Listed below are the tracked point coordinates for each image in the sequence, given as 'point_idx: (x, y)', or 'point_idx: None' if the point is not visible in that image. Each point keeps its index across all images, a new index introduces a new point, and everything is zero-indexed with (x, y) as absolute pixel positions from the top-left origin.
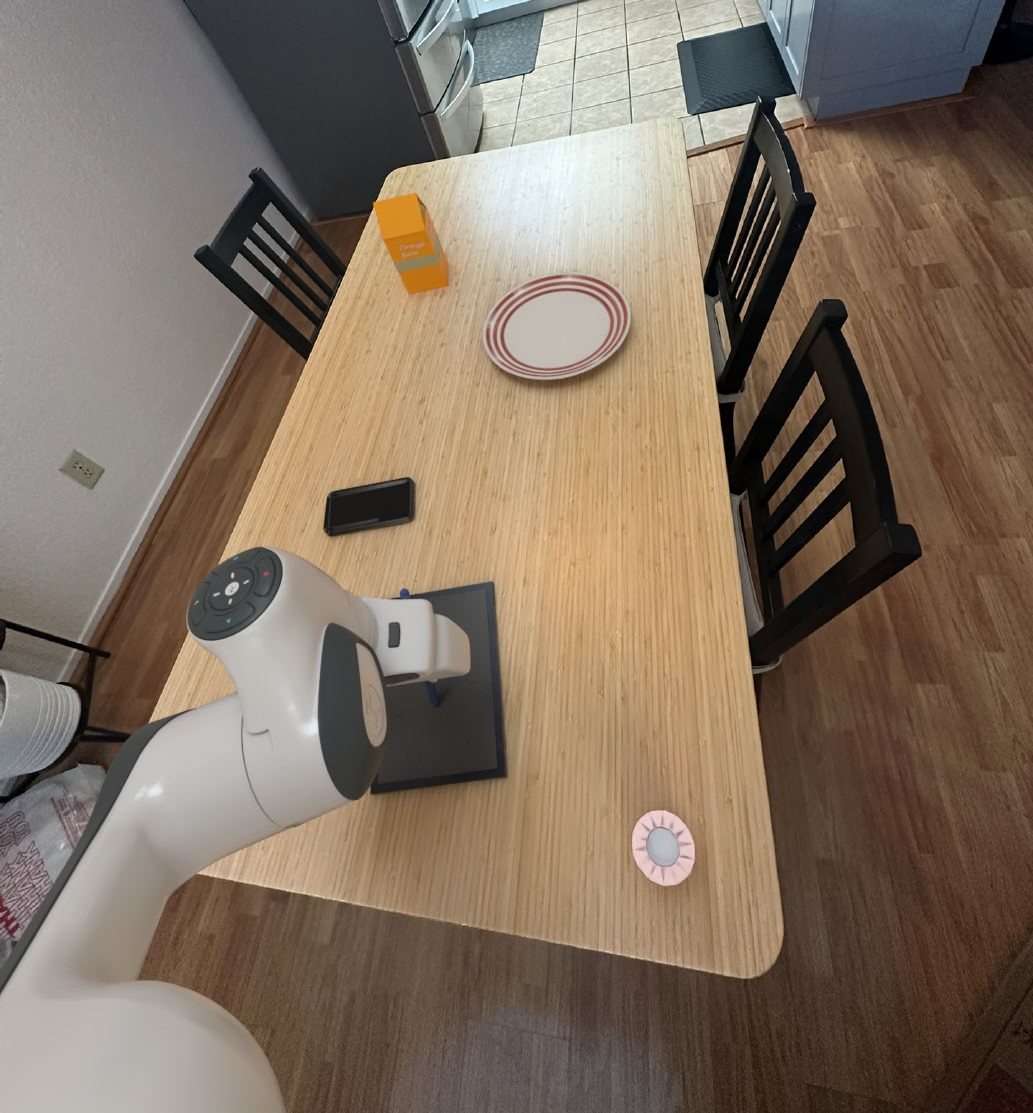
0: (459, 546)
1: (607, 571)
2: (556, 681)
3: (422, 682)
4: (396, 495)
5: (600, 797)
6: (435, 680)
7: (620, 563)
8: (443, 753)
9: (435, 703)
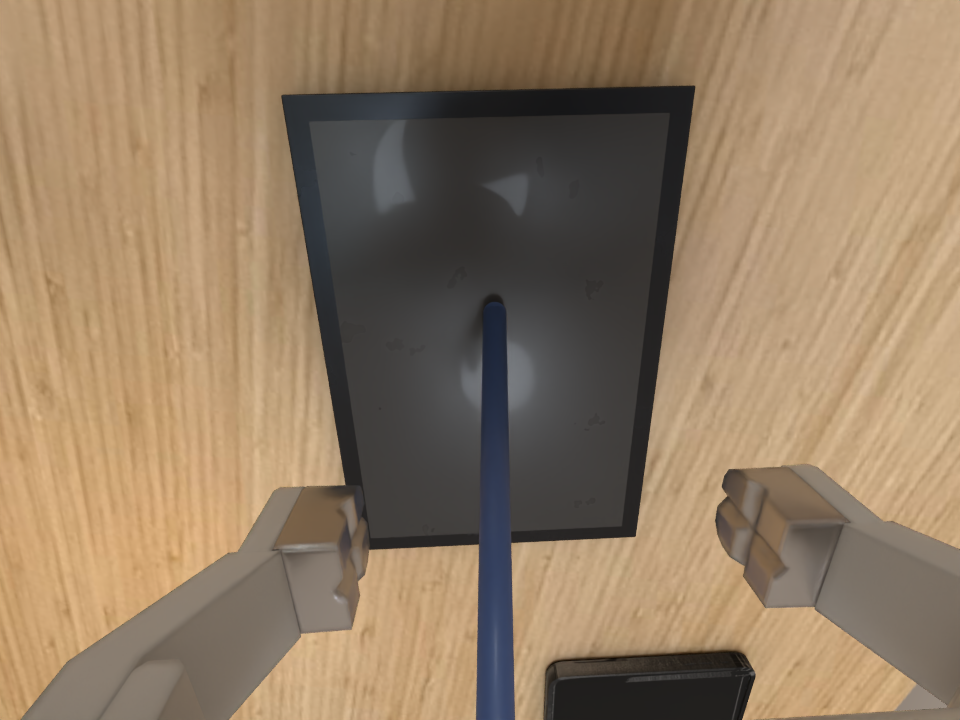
0: (444, 610)
1: (87, 538)
2: (180, 324)
3: (343, 508)
4: (583, 715)
5: (3, 14)
6: (267, 505)
7: (59, 550)
8: (471, 177)
9: (490, 307)
